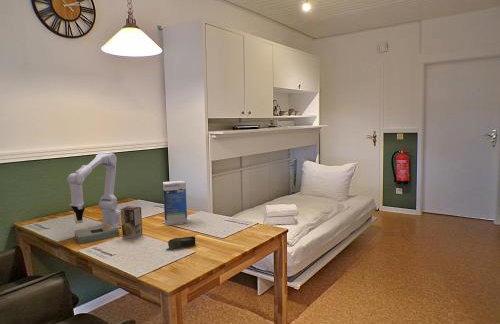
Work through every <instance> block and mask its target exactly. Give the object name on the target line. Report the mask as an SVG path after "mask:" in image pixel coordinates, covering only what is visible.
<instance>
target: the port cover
mask: <svg viewBox="0 0 500 324" xmlns="http://www.w3.org/2000/svg"><path fill="white" fill-rule="evenodd" d="M102 226H103V225H102ZM103 228H104V229H105V230H106V231H111V230H116V229H118V230H122V226H121V225H120V224H119V225H118V224H113V225H109V224H108V223H106V222H104V226H103Z"/></svg>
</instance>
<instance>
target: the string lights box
mask: <svg viewBox="0 0 500 324" xmlns="http://www.w3.org/2000/svg"><path fill="white" fill-rule="evenodd" d="M186 185H187V183H186V181H185V180H173V181H162V186H163V187H162V191H163V192H162V193H163V195H162V196H163V207H164V208H163V211H164V212H163V214H164V224H165V226H175V224H176V225H183V224H184V223H185V224H188V211H187V207H188V206H187V186H186Z"/></svg>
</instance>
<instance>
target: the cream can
mask: <svg viewBox="0 0 500 324" xmlns="http://www.w3.org/2000/svg"><path fill="white" fill-rule="evenodd" d="M73 217H74V224H82V223H84V216H83V217H82V220H80V221H78V220H77V217H76V214H75V211H73Z"/></svg>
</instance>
